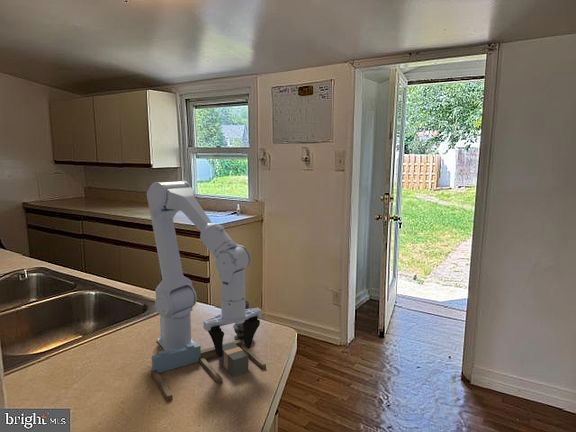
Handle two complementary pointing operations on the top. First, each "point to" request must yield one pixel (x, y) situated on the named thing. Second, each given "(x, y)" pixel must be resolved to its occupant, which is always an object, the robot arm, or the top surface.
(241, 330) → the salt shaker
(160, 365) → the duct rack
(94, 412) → the top surface
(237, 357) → the grey and tan block
